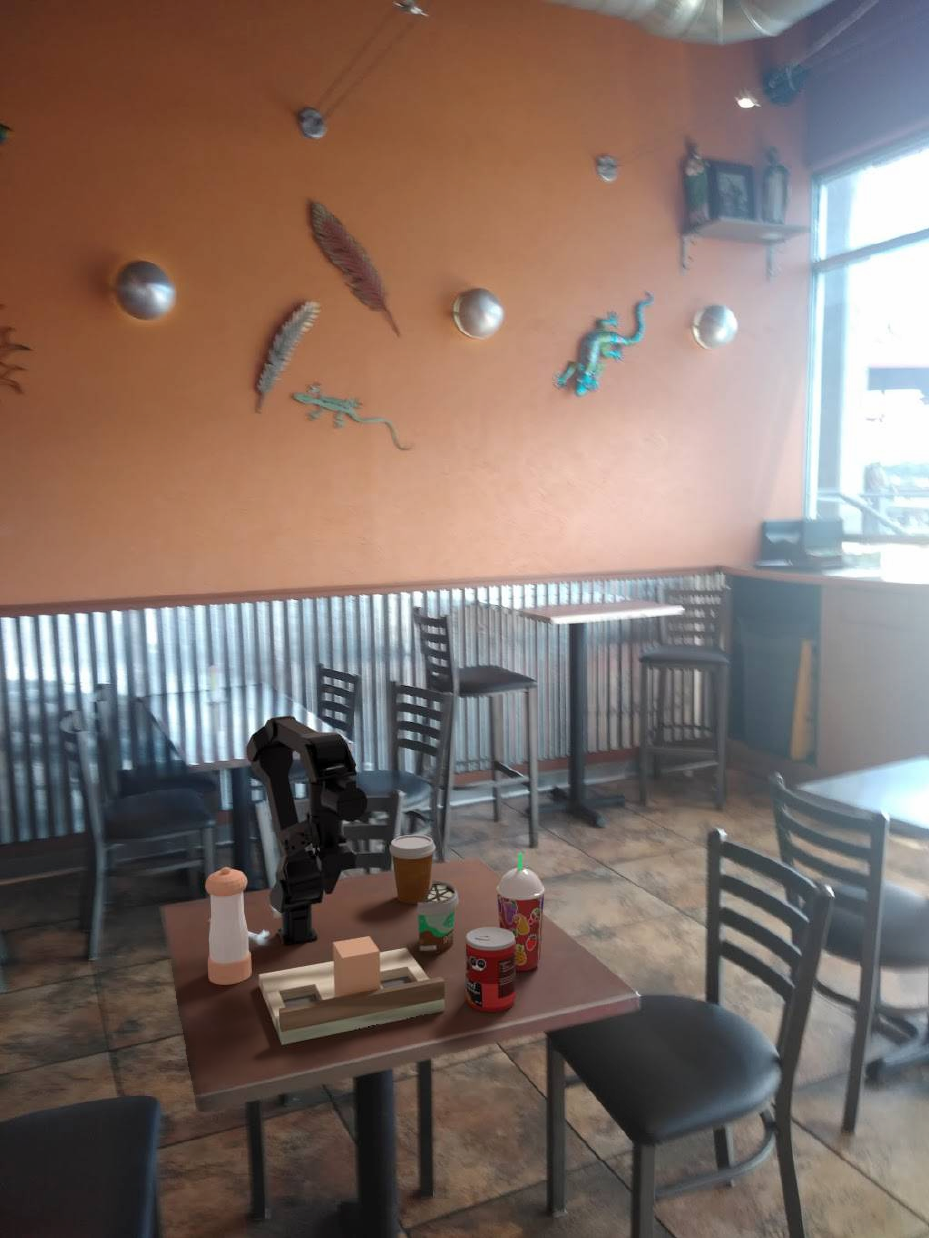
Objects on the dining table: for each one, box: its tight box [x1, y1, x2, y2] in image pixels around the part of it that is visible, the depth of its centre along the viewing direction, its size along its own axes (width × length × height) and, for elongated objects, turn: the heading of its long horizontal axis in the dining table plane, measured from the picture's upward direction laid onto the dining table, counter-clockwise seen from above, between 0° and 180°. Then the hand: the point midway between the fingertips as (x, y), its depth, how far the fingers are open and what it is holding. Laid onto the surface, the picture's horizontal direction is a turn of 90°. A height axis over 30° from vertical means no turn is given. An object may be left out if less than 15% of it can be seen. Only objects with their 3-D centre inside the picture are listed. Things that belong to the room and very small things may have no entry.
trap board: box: [258, 947, 446, 1046], centre depth 159 cm, size 20×26×5 cm
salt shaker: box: [204, 866, 252, 986], centre depth 167 cm, size 7×7×19 cm
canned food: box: [465, 926, 516, 1013], centre depth 157 cm, size 8×8×11 cm
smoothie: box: [496, 852, 546, 972], centre depth 170 cm, size 8×8×20 cm
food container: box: [416, 879, 459, 956], centre depth 179 cm, size 12×6×10 cm, turn 168°
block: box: [332, 935, 381, 997], centre depth 154 cm, size 6×6×9 cm
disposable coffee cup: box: [388, 834, 436, 905], centre depth 201 cm, size 10×10×12 cm
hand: (328, 893), depth 170 cm, fingers closed
